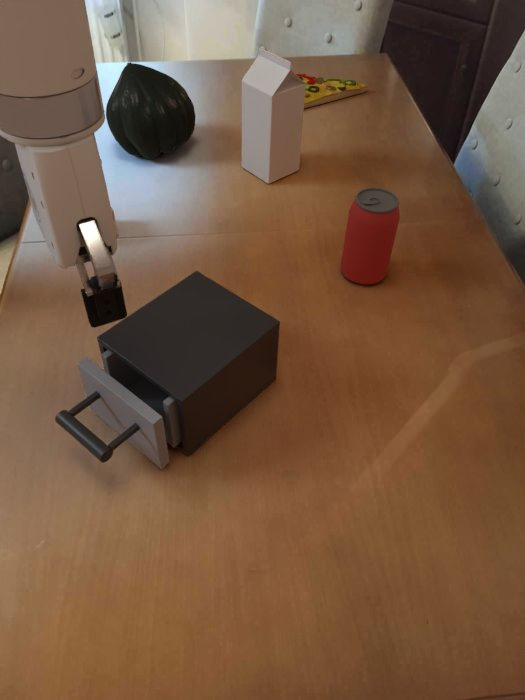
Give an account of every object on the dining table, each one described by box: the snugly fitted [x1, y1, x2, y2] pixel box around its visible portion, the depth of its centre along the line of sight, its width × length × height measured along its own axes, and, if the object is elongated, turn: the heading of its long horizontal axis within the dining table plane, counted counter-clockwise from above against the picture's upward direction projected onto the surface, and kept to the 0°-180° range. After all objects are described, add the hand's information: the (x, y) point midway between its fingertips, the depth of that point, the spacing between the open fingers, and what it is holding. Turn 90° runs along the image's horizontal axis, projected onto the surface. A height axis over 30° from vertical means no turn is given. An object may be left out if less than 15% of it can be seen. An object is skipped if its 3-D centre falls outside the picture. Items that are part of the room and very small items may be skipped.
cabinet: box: [96, 270, 281, 458], centre depth 66 cm, size 15×13×10 cm
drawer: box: [54, 350, 182, 469], centre depth 63 cm, size 18×11×8 cm, turn 139°
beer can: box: [340, 187, 401, 286], centre depth 81 cm, size 7×7×12 cm
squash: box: [105, 62, 196, 160], centre depth 103 cm, size 14×15×15 cm
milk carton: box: [241, 47, 306, 185], centre depth 96 cm, size 7×7×19 cm
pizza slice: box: [295, 73, 369, 109], centre depth 123 cm, size 16×21×3 cm
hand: (92, 287), depth 54 cm, fingers open, 9 cm apart
